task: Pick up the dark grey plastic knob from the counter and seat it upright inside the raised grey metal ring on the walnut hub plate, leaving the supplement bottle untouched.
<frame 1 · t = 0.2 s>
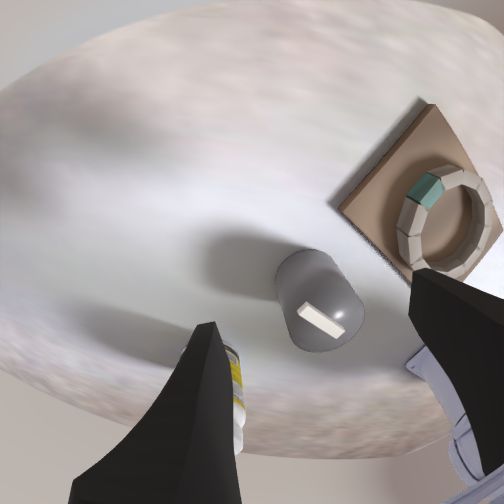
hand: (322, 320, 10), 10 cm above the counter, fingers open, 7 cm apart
knob: (306, 278, 21), on the counter
hub plate: (437, 218, 20), on the counter
supplement bottle: (209, 356, 24), on the counter
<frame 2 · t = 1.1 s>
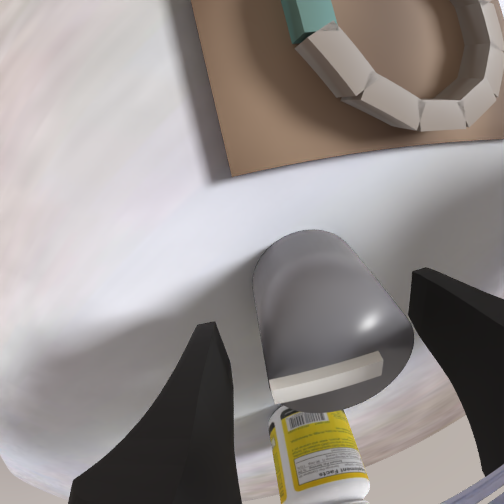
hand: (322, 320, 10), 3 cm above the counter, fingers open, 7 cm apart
knob: (306, 280, 13), on the counter
hub plate: (388, 20, 8), on the counter
supplement bottle: (304, 413, 17), on the counter
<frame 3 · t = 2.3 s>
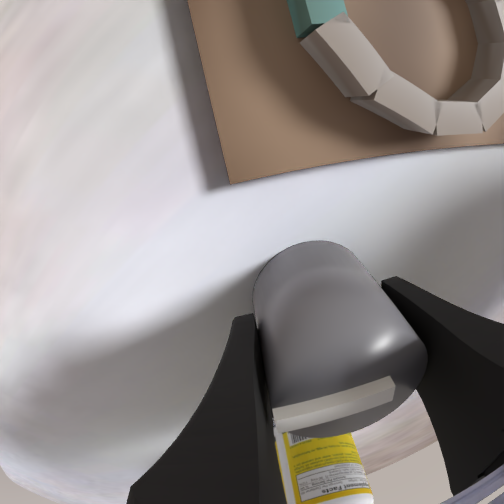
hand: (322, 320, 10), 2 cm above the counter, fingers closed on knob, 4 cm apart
knob: (310, 294, 12), on the counter, touching gripper
hub plate: (398, 15, 7), on the counter
supplement bottle: (306, 425, 16), on the counter
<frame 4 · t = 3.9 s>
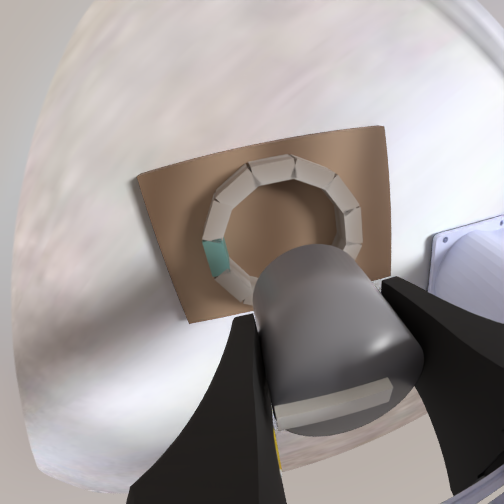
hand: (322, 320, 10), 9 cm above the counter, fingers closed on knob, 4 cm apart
knob: (309, 296, 12), point 7 cm above the counter, touching gripper
hub plate: (279, 225, 18), on the counter
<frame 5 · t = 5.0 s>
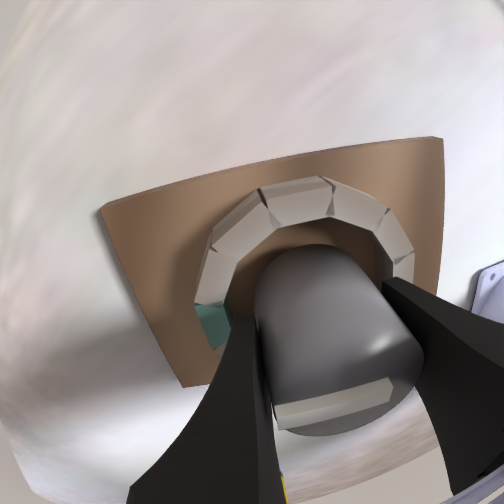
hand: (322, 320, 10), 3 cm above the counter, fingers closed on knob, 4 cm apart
knob: (309, 296, 12), point 2 cm above the counter, touching gripper
hub plate: (300, 272, 13), on the counter
when the fingers open (3 cm above the counter, at t = 5.8 s): knob stays where it is, resting on hub plate.
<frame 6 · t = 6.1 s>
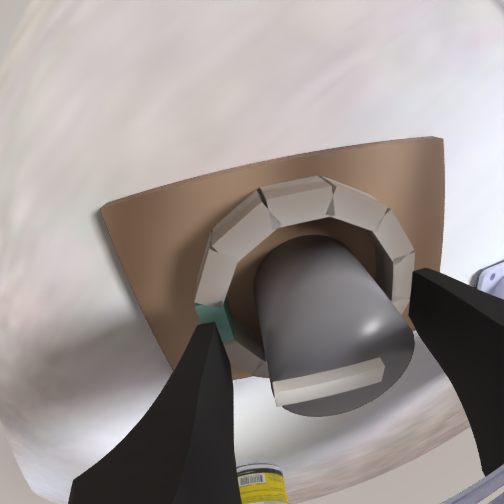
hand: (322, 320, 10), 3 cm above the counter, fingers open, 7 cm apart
knob: (307, 284, 13), point 1 cm above the counter, touching hub plate
hub plate: (300, 272, 13), on the counter
supplement bottle: (255, 470, 22), on the counter
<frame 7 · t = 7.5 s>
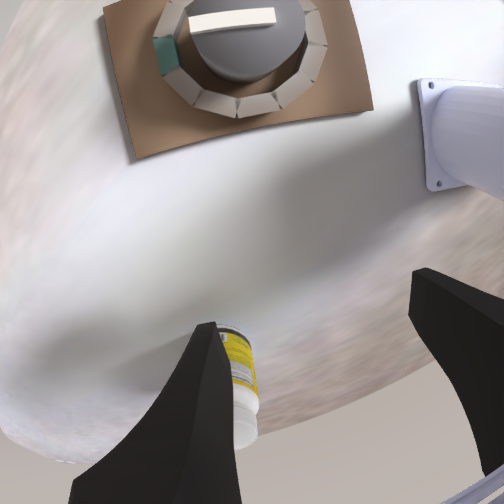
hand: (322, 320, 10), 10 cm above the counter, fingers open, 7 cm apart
knob: (242, 45, 14), point 1 cm above the counter, touching hub plate
hub plate: (238, 46, 14), on the counter
supplement bottle: (220, 344, 23), on the counter
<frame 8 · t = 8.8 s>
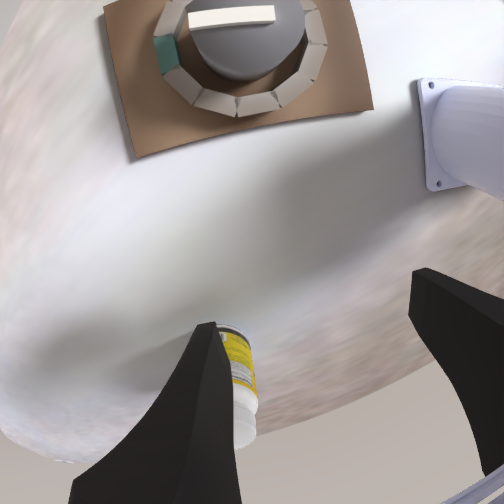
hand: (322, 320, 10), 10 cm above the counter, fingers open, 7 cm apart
knob: (242, 44, 14), point 1 cm above the counter, touching hub plate
hub plate: (238, 45, 14), on the counter
supplement bottle: (219, 344, 23), on the counter
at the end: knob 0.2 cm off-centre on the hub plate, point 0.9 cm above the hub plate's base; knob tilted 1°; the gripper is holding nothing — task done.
